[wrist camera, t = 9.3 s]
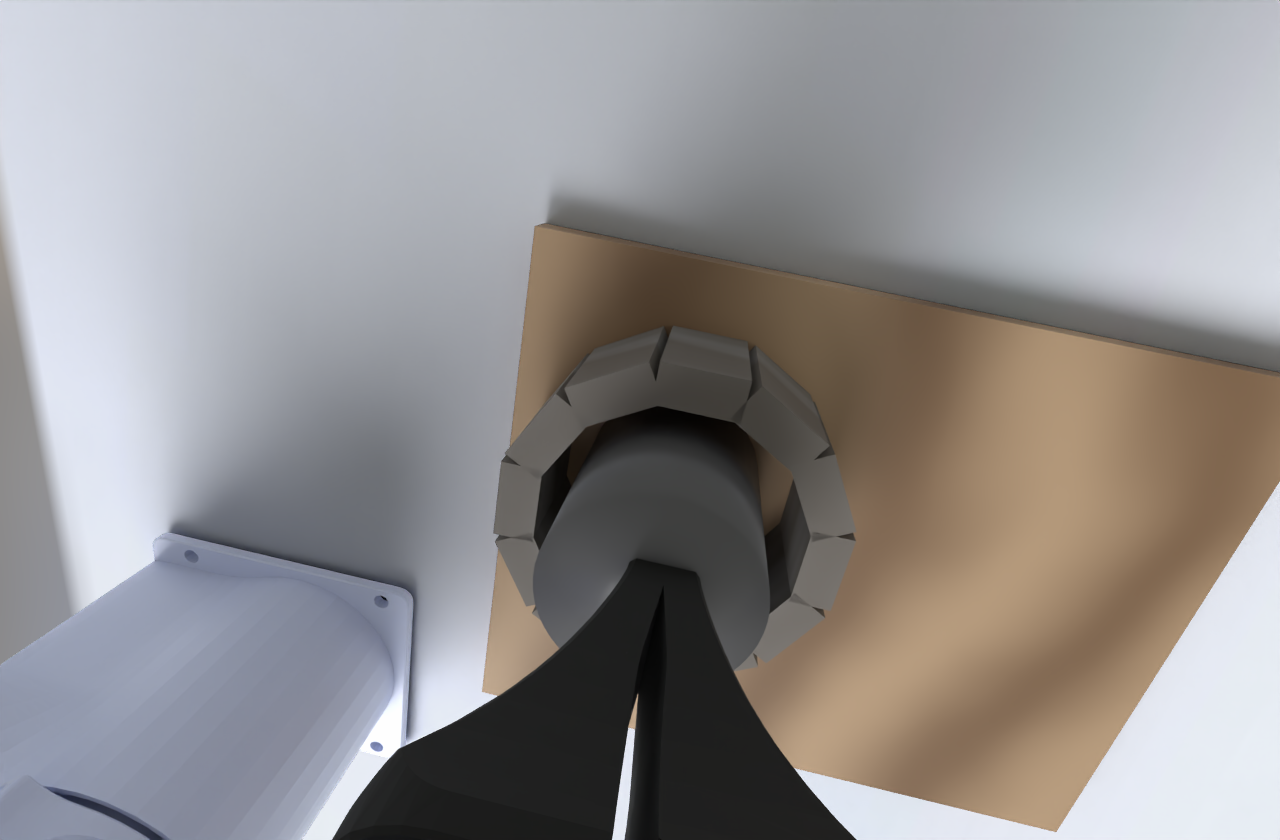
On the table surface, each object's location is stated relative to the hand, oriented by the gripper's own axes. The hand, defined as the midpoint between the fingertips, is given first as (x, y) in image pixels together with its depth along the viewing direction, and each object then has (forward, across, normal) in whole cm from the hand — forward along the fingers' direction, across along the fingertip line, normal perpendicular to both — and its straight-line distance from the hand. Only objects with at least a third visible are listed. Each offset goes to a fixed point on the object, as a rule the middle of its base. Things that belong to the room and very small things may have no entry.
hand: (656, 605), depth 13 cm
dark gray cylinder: (+6, 0, 0) cm, 6 cm away
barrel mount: (+7, -5, +2) cm, 9 cm away
